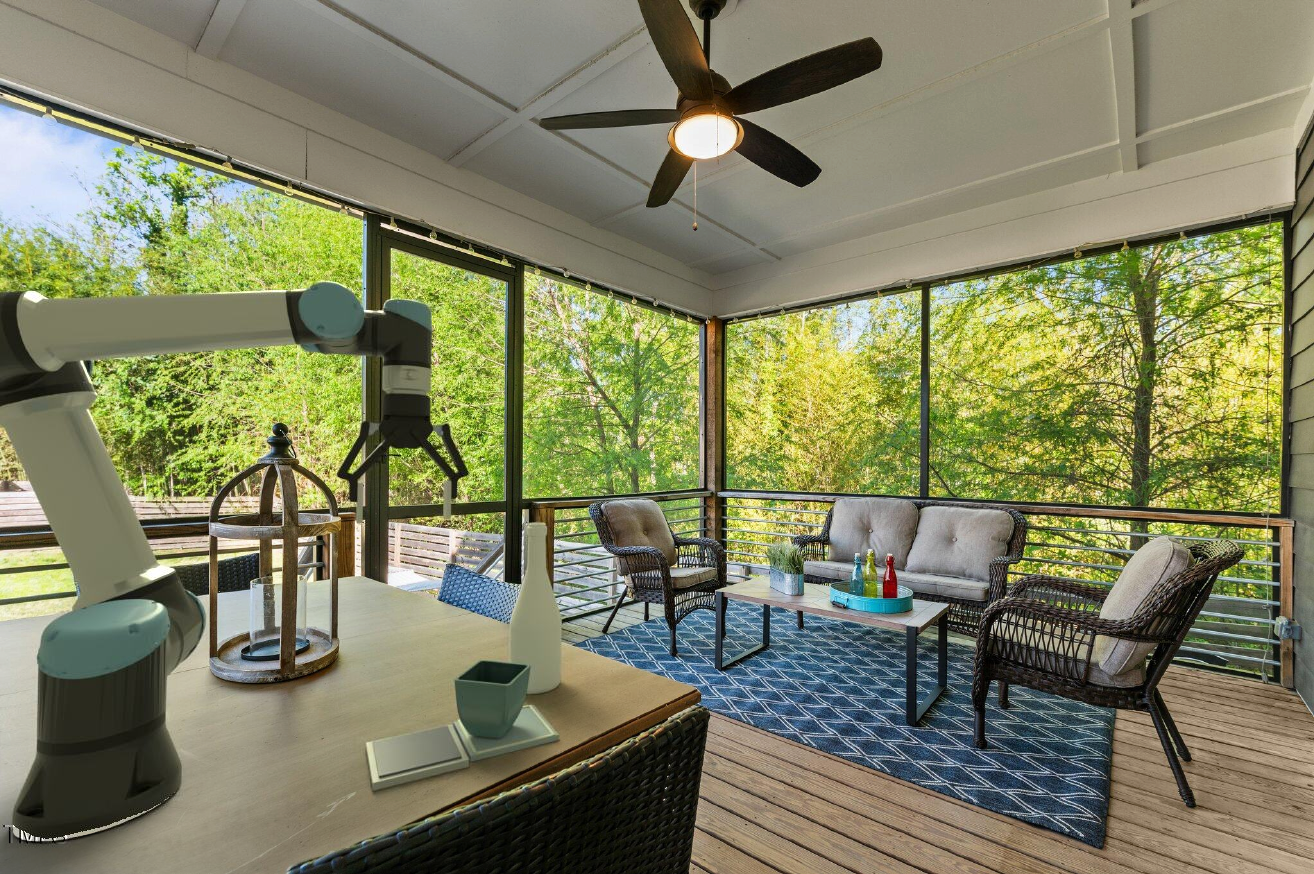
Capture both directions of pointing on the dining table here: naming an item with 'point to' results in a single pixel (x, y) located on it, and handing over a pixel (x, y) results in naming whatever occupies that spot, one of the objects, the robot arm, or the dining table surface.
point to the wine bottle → (537, 619)
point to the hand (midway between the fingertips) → (404, 520)
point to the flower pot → (491, 696)
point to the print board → (509, 736)
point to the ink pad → (414, 756)
